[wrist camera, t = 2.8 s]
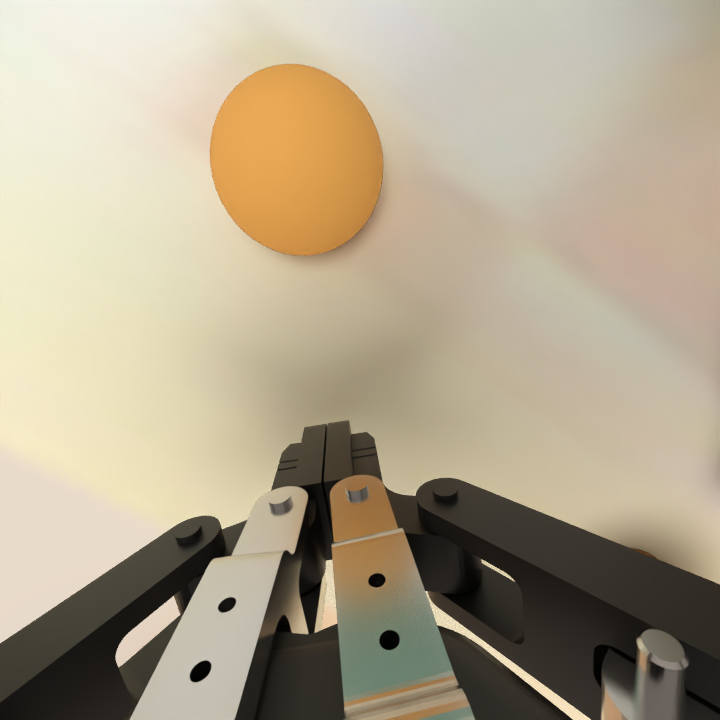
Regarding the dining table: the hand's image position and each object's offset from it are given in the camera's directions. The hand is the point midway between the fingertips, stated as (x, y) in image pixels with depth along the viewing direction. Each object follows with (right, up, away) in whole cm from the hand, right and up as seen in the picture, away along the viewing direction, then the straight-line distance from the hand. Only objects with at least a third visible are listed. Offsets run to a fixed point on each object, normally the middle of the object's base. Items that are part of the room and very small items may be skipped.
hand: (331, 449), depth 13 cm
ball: (-1, +10, +1) cm, 10 cm away
